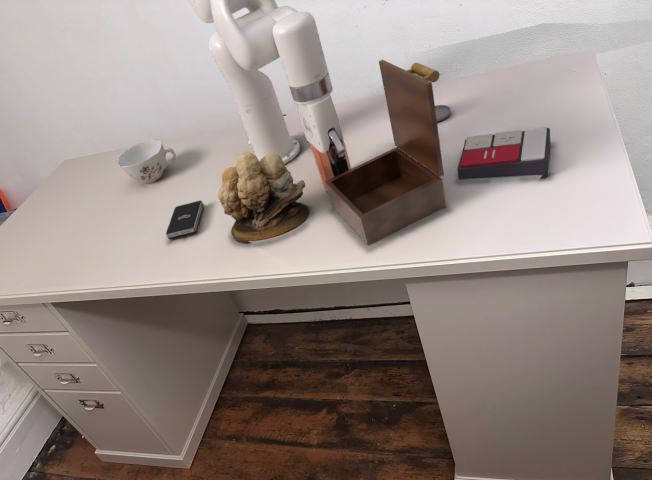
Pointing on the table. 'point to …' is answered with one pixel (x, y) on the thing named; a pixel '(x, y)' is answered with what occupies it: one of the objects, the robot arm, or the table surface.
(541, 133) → the calculator
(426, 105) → the lid
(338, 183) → the chest
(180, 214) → the external hard drive
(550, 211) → the table surface
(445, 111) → the pocket watch
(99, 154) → the table surface
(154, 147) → the teacup
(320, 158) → the cup
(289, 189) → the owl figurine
